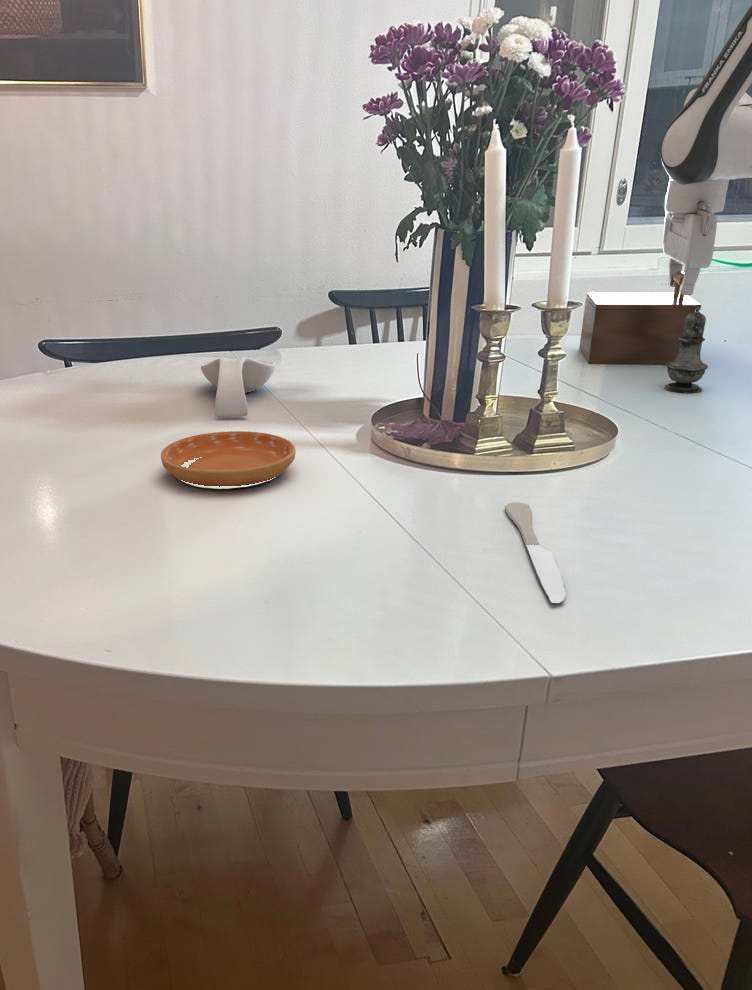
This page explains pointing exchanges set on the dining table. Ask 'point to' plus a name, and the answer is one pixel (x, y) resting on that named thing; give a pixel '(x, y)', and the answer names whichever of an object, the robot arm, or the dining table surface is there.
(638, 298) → the lid
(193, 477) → the saucer
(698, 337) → the salt shaker
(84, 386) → the dining table surface
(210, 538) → the dining table surface
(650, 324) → the chest
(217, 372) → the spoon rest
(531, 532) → the utensil handle
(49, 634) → the dining table surface
